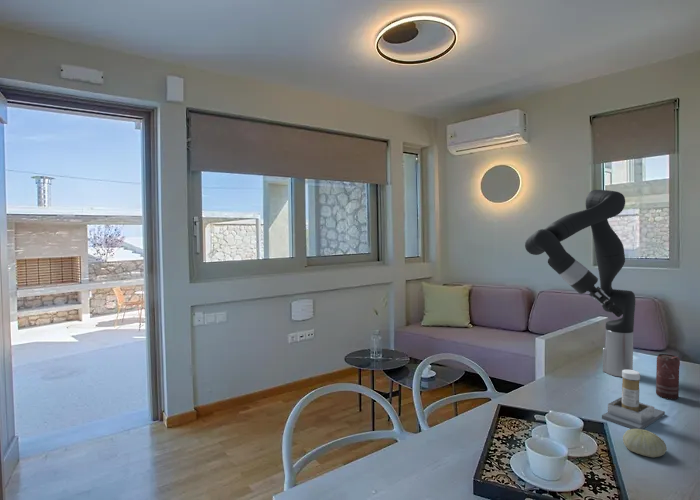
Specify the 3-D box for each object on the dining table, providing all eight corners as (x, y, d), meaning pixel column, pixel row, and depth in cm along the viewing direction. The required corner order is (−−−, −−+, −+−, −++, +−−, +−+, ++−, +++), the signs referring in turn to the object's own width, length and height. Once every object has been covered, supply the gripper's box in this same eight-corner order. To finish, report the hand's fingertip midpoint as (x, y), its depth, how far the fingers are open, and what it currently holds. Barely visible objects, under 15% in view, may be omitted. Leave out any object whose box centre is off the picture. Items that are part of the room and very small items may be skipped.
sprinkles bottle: (628, 410, 129) (629, 368, 129) (642, 416, 125) (643, 372, 125) (617, 413, 128) (618, 370, 127) (632, 419, 124) (633, 374, 123)
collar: (607, 413, 128) (607, 404, 128) (621, 406, 133) (621, 397, 133) (641, 424, 120) (641, 414, 120) (654, 416, 125) (654, 406, 125)
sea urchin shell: (658, 458, 102) (633, 425, 106) (633, 468, 107) (611, 437, 112) (677, 448, 106) (653, 417, 111) (652, 459, 111) (630, 429, 116)
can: (683, 400, 139) (684, 359, 138) (661, 399, 140) (662, 358, 139) (673, 393, 145) (674, 353, 144) (652, 392, 146) (653, 353, 145)
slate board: (601, 418, 127) (601, 415, 127) (628, 403, 137) (628, 400, 137) (639, 431, 119) (639, 427, 118) (664, 414, 129) (664, 411, 129)
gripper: (590, 271, 131) (633, 309, 127) (583, 266, 144) (622, 300, 141) (571, 287, 133) (613, 325, 130) (566, 281, 146) (603, 315, 143)
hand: (617, 312), depth 135 cm, fingers open, 8 cm apart
